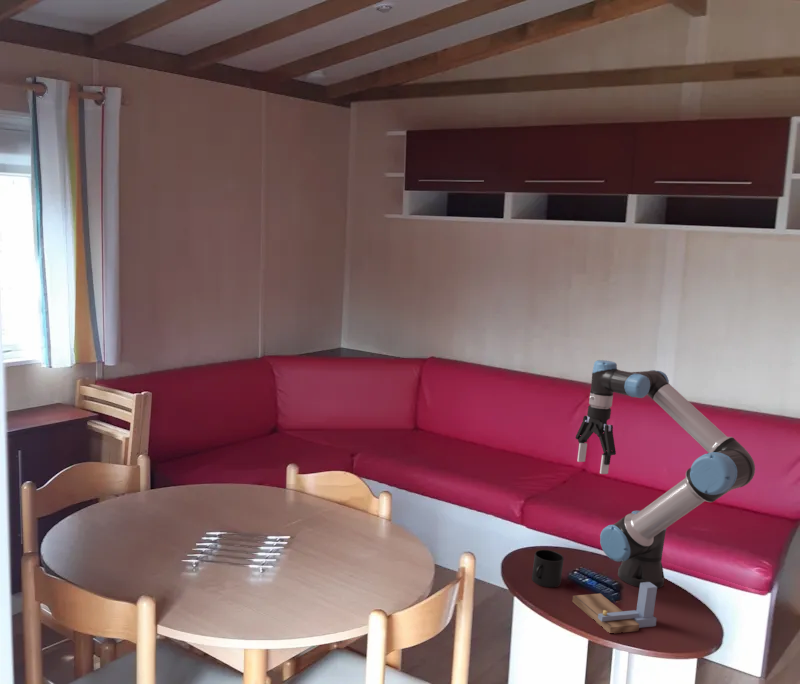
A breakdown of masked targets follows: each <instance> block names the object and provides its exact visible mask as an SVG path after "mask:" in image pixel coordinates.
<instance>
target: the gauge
mask: <svg viewBox="0 0 800 684" xmlns="http://www.w3.org/2000/svg"><path fill="white" fill-rule="evenodd" d="M638 588H639V589H638V595H637V596H638V597H637V602H636V603H637V604H636V610H635V609H632V610H624V611H623V610H622V612H612V613H607V611H606V610H603V613H601V614H598V619H599V620H601V621H612V620H622V619H633V620H634V621H636V622H637V623H638V624H639V629H641V628H651V627H656V626H657V620H658V619H657V617H655V615H654V613H655V604H656V598H657V593H658V591H657V590H658V588H657V587H656V586H655V585H653V584H652V583H651V582H643V583H640V587H638Z"/></svg>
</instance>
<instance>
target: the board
mask: <svg viewBox="0 0 800 684" xmlns="http://www.w3.org/2000/svg"><path fill="white" fill-rule="evenodd" d="M572 603H574V605H576V606H577V607H578V608H579V609H580V610H581V611H582V612H584V613H585V614H586V615H587V616H588V617H589V618H591V619H592V620H593V619H594V620H595V621H596V622H595V621H594V620H593V621H594V622H595V623H596V624H597V625H599V626H600V627H601V626H602V627H603V630H605V631H606V632H607V633H608V632H609V633H614V634H621V632H623V633H630V632H639V629H640V628H639V624H638V623H637V622H636V621H634V620H633V619H622V620H612V621H601V620H599V619H598V614H601V613H603V610H606V611H607V613H612V612H622V611H623V610H622V609H621V608H619V607H618V606H617V605H616V604H614V603H613V602H611V600H609V599H608V598H607V597H605V596H604V595H603V594H602V593H600V592H599V593H591V594H590V593H588V594H578V595H572ZM602 627H601V628H602ZM609 633H608V634H609Z"/></svg>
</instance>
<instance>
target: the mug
mask: <svg viewBox="0 0 800 684" xmlns="http://www.w3.org/2000/svg"><path fill="white" fill-rule="evenodd" d="M564 560H565V558H564V556H563V555H562V554H561V553H559V552H557V551H553V550H550V549H539V550H536V551H534V559H533V566H532V573H531V580H532V582H533V583H535V584H536V585H538V586H540V587H545V588H557V587H559V586H560V585H561V584H562V583H561V582H562V577H563V576H562V573H563V567H564Z"/></svg>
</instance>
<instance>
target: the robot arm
mask: <svg viewBox="0 0 800 684" xmlns="http://www.w3.org/2000/svg"><path fill="white" fill-rule="evenodd" d="M617 366H618V365H617V362H615V361H611V360H606V359H605V360H603V359H602V360H601V359H598V360H596V361H594V363H593V369H592V372H591V381H590V382H591V383H590V390H589V391H590V392H589V401H588V404H589V405H588V407H587V414H586V415H584V416H583V417H582V418H583V419H582V422H581V424H580V427H579V428H578V431H577V433H576V435H575V440H577V441H578V450H577V451H578V453H577V462H578V463H583V462H584V463H585V462H586V458H587V457H586V456H587V450H588V440H589V438H590V437H591V436H592V435H593V433H594V434H595V435H597V437H598V438H599V442H600V446H601V448H602V451H603V453H602V454H601V461H600V468H599V469H600V470H599V474H601V475H608V474H609V469H610V464H611V457H612V456H616V455H617V451H616V446H615V439H614V432H613V431H614V430H613V429H614V425H613V424H608V420H610V419H611V414H612V407H613V401H614V399H613V398H614V393H618V394H620V395H624V396H629V397H631V398H638V399H643V398H645V397H646V395H647V396H648V397H650V399H652V401H654V402H655V403H656V404H657V405H658V406H659V407H660V408H662V410H664V412H666V414H668V415H669V417H670V418H672V419H673V420H674V421H675V422H676V424H678V425H679V426H680V427H681V428H682V429H683V430H684V431H685V432H686V433H687V434H688V435H690V436H691V437H692V438H693V439H694V440H695V441H696V442H697V443H698V444H699V445H700V446H701V447H702V448H703V449H704V450H705V451H706V452H707V453H704V454H702V455H700V456H699V457H697V458H696V459H694V461H693V462H692V464H691V466H690V468H688V469H687V470H686V471H685V478H684V479H681V481H679V482H677V484H674V486H672V487H671V488H670V489H668V490H667V491H666V492H665V493H663V494H661V495H660V496H659V497H657V498H656V499H655V500H654V501H652V502H651V503H650V504H648V505H647V506H645V507H644V508H642V509H641V510H633V511H631V513H628V514H626V515H625V516H623V517H622V518H621V519H619V520H618V521H617V522H615V523H613V524H609V525H606V526H605V527H603V529H602V530H601V532H600V535H599V538H600V540H599V542H600V543H599V544H600V547H601V549H602V551H603V553H604V554H605V555H606V557H608V558H609V559H610V560H612V561H614V562H618V563H619V562H621V564H620V565H619V566H618V572H617V577H618V578H619V579H620V580H621V581H622V582H624V583H625V584H627V585H631V586H634V587H637V588H640V583H643V582H651V583H652V584H653V585H655V586H656V587H657V589H660V588H662V587H663V586H664V584H665V574H664V569H663V563H662V559H663V558H662V557H663V553H664V552H663V551H664V545H665V539H666V538H665V537H666V532H667V528H668V527H670V526H672V525H674V524H675V523H676V522H677V521H678V520H680V519H681V518H682V517H684V516H686V515H687V514H689V513H690V512H691V511H693V510H695V508H697V507H699V506H701V505H702V504H703V503H704V502H707V503H714V502H716V501H717V500H718V499H720V498H721V497H723V496H724V495H725V494H727V493H728V492H730V491H732V490H736V489H738V488H743V487H744V486H746V485H748V484H750V482H751V481H752V480H753V479H754V476H755V473H756V465H755V461H754V459H753V457H752V455H751V454H750V452H749V451H748V450H747V449H746V448H745V447H744V446H743V445H742V444H741V443H740V442H739V441H737V440H736V439H735V438H734V437H733V436H727V435H726V434H725V433H724V432H723V431H722V430H721V429H719V428H718V427H717V425H715V424H714V423H713V422H711V420H709V418H708V417H706V416H705V415H704V414H703V413H702V412H701V411H700V410H698V409H697V408H696V407H695V406H694V405H693V403H691V402H690V401H688V399H687V398H686V397H684V396H683V394H681V393H680V392H679V391H678V390H676V388H675V387H673V386H672V385H671V384H670V382H669V381H670V380H669V378H668V375H667V374H666V373H665V372H663V371H661V370H653V369H652V370H645V371H626V370H625V371H624V370H620V369H618V367H617Z"/></svg>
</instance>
